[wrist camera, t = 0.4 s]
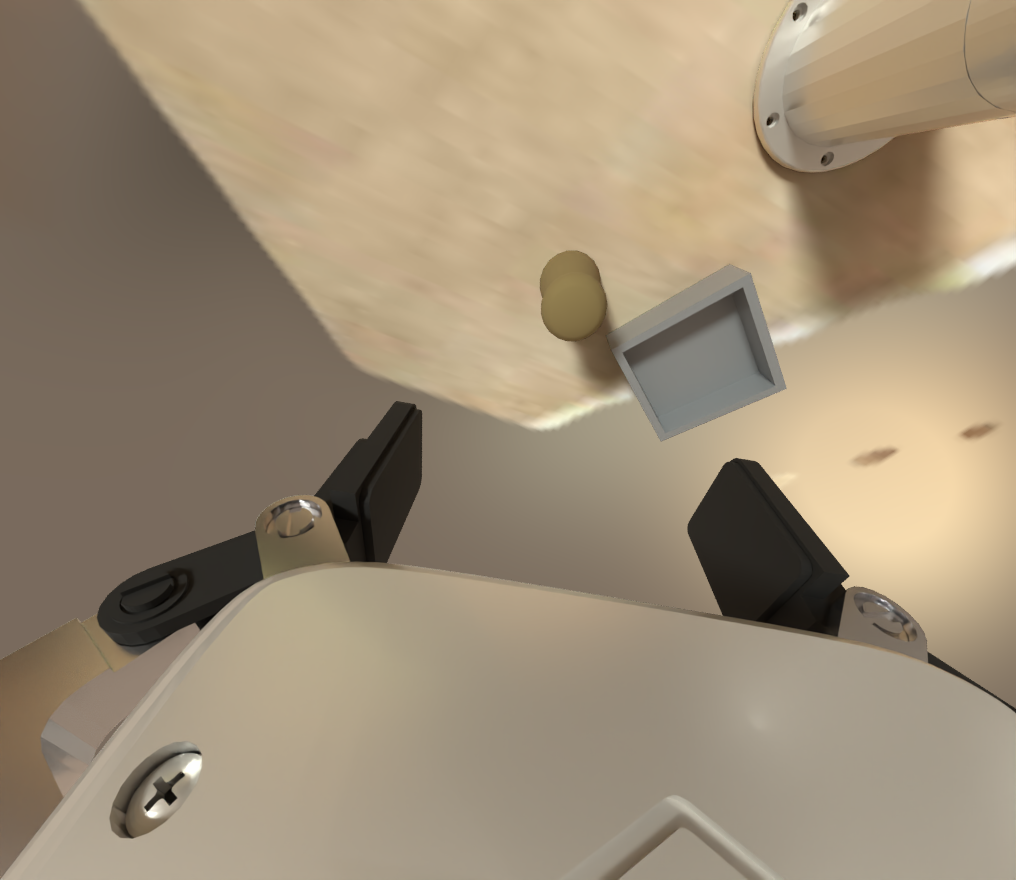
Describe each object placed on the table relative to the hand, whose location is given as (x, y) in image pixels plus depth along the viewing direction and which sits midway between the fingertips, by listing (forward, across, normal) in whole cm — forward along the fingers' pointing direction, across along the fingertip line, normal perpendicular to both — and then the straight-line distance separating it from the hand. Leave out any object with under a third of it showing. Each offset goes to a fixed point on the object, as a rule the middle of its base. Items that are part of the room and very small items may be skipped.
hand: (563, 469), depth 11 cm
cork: (+31, -2, 0) cm, 31 cm away
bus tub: (+30, -16, +5) cm, 35 cm away
